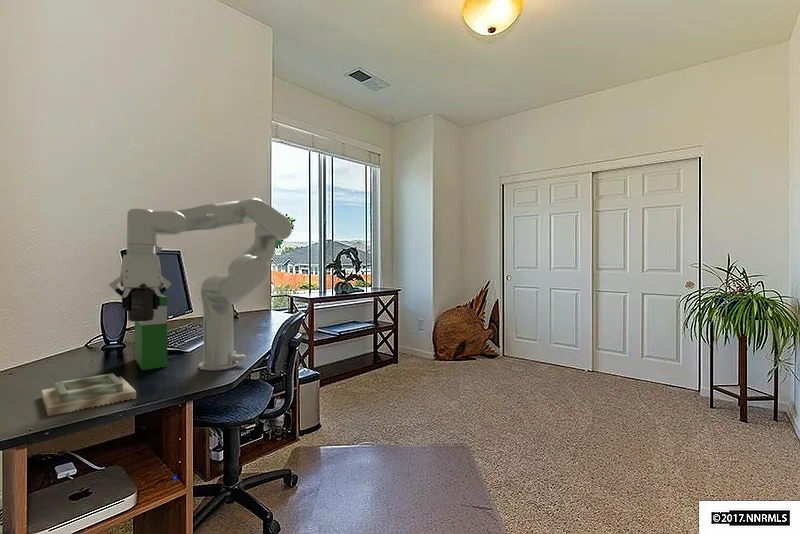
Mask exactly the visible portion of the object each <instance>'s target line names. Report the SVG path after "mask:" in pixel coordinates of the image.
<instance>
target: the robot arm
mask: <svg viewBox="0 0 800 534" xmlns="http://www.w3.org/2000/svg"><path fill="white" fill-rule="evenodd" d="M126 216H127V217H126V218H127V220H126V221H127V224H126V254H123V256H122V260H121V267H120V274H119V276H118V277H117V278H115V279H114V280H113V281H111V282H110V283H109V284H108V286H109V287H110V288H111V289H112V290H113V291H114V292H115V293H116V294H117V295H119V296H120V297H121V308H122V309H123V310H124V311H125V312H128V311H129V298H128V294H129V292H130V290H131V289H133V288H140V287H139V285H142V283H143V284H144V283H145V285H147V286H148V287H147V288H150V289H152V290H153V291H154V309H155V310H156V309H158V306H160V296H161V295H163V294H164V293H165V292H166V291H167V289H169V288H170V286H172V282H171V281H170V280H168V279H167V278H166V277H164V276H163V275H162V267H161V260H160V255H157V254H158V253H161V252H162V251H163V249H162V247H159V246H158V245H157V235H158V236H161V237H163V236H176V235H179V234H182V233H185V232H192V231H207V230H217V229H222V228H229V227H232V226H233V227H234V226H240V225H244V224H246V225H247V224H253V223H256V225H255V227H254V242H253V243H252V244H251V246H249V247H248V248H247V249H246V250H244V251H243V252H242V253H240V254H239V255H238V256H237V257H235V258H234V259H233V260H231V262H230V263H229V265H228V266H227V274H228V275H227V274H211V275H209V276H208V277H206V278H205V279H204V280H203V282H202V283H201V287H200V296H201V301H202V309H203V316H202V317H203V361H201V362H199V363H198V368H199V370H202V371H212V372H213V371H222V370H229V369H233V368H234V367H237V366H238V365H239V362H246V361H247V356H246V355H245V354H238V353H237V350H234V347H235V345H234V332H235V331H234V328H235V325H234V322H235V321H234V319H235V318H234V307H233V305H235V304H238V303H239V302H242V301H243V300H244V299H246V297H248V296H249V295H250V294H251V293H252V292H254V290H256V289H257V288H258V287H259V286H261V284H262V283H264V281H265V280H266V278H267V276H268V274H269V266H268V263H269V262H270V261H271V260H272V259H273V257H274V255H275V251H276V250H275V247H276V241H282V240H283V241H284V240H286V239H287V238H289V237H290V236H291V234H292V231H293V226H292V224H291V221H290V220H289V218H288V217H286V216H285V215H283V214H282V213H281V212H280V211H278V210H277V209H275V207H272V206H271V205H269V204H268V202H265V201H264V200H261V199H259V198H256V197H252V198H245V199H238V200H231V201H222V202H214V203H209V204H208V203H207V204H202V205H198V206H195V207H191V208H183V209H178V210H152V209H149V208H131V209H129V210H128V211H127V215H126ZM162 283H163V286H162ZM118 284H120V287H123V289H121V288H119V286H118ZM159 287H160V288H159Z"/></svg>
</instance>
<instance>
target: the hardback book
mask: <svg viewBox="0 0 800 534" xmlns="http://www.w3.org/2000/svg"><path fill="white" fill-rule="evenodd" d="M135 360H136V361H137V362H136V361H135ZM134 361H135V362H136V363H138V364H139V365H138V364H137V365H138V366H139V368H140V369H141V371H147V370H153V369H154V368H155V369H161V368H160V367H162V368H167V367H168V296H165V295H164V294H161V296H160V306H158V309H156V310H155V309H154V319H153V320H150V321H134Z"/></svg>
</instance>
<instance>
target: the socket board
mask: <svg viewBox="0 0 800 534" xmlns="http://www.w3.org/2000/svg"><path fill="white" fill-rule="evenodd" d="M41 398H42V402H43V405H44V408H45V411H46V414H47V416H48V417H53V416H57V414H58V415H63V414H66V413H67V412H68V413H71V412H72V411H73V412H76V411H75V410H77V411H80V410H79V409H82V410H85V409H84V408H87V409H90V408H89V407H92V408H95V407H94V406H97V407H101V406H100V405H102V406H106V405H105V404H107V405H110V403H112V404H115V403H114V402H117V403H120V402H119V401H122V402H125V401H124V400H127V401H131V400H130V399H132V400H137V391H136V390H135V388H134V387H133V386H132V385H130V383H129V382H128V381H127V380H125V378H123V377H122V376H116V375H115V374H114V373H113V372H112V373H107V374H99V375H94V376H87V377H81V378H76V379H71V380H64V381H56V382H54V387H51V388H45V389H42V390H41ZM62 413H63V414H62ZM52 415H53V416H52Z"/></svg>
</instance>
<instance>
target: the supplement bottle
mask: <svg viewBox="0 0 800 534" xmlns="http://www.w3.org/2000/svg"><path fill="white" fill-rule="evenodd" d="M139 287H140V288H132V289H131V290H130V292H129V294H128V298H129V311H127V320H128V321H129V322H135V321H150V320H153V319H154V291H153V290H152V289H151V288H147V287H148V286H147V285H145V283H144V284H143V283H142V285H139Z"/></svg>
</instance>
